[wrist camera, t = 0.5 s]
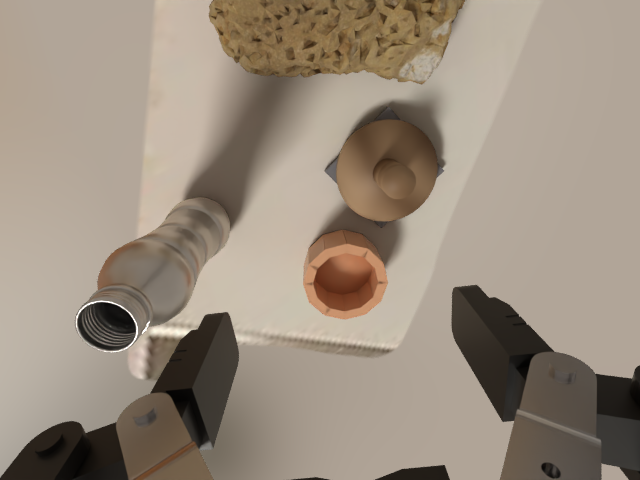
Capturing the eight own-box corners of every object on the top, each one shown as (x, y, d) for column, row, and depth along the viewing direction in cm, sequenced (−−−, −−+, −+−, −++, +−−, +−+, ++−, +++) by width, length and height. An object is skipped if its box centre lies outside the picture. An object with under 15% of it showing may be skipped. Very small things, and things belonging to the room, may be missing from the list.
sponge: (447, -28, 32) (230, -137, 26) (496, -36, 26) (226, -183, 19) (389, 112, 39) (205, 52, 32) (417, 133, 32) (195, 64, 26)
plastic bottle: (245, 215, 38) (186, 315, 20) (213, 259, 40) (130, 389, 21) (195, 180, 37) (78, 252, 18) (164, 227, 39) (28, 338, 20)
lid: (389, 96, 34) (406, 93, 28) (453, 170, 36) (480, 182, 31) (315, 171, 36) (316, 183, 30) (380, 236, 39) (393, 258, 33)
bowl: (343, 215, 39) (347, 228, 34) (393, 264, 41) (403, 282, 37) (289, 266, 41) (287, 284, 37) (340, 310, 43) (344, 332, 39)
